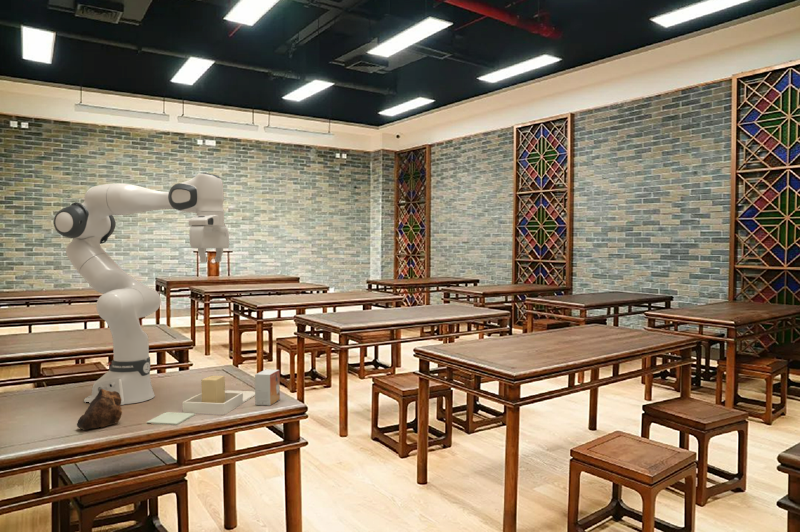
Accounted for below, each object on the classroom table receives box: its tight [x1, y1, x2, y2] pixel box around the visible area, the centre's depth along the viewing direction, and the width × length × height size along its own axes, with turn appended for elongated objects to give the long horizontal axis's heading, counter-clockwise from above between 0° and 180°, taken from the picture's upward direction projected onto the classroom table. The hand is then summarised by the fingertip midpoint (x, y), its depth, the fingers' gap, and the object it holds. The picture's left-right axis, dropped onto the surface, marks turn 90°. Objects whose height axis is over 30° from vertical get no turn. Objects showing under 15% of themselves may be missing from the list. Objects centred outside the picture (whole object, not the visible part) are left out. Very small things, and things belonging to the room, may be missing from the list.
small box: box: [254, 368, 281, 406], centre depth 185 cm, size 8×6×10 cm
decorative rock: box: [76, 389, 123, 431], centre depth 161 cm, size 12×6×11 cm, turn 136°
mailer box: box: [182, 389, 255, 416], centre depth 185 cm, size 14×26×4 cm, turn 170°
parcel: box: [200, 375, 226, 403], centre depth 179 cm, size 5×6×10 cm
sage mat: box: [146, 411, 196, 426], centre depth 167 cm, size 10×10×1 cm
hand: (211, 262), depth 184 cm, fingers open, 8 cm apart
